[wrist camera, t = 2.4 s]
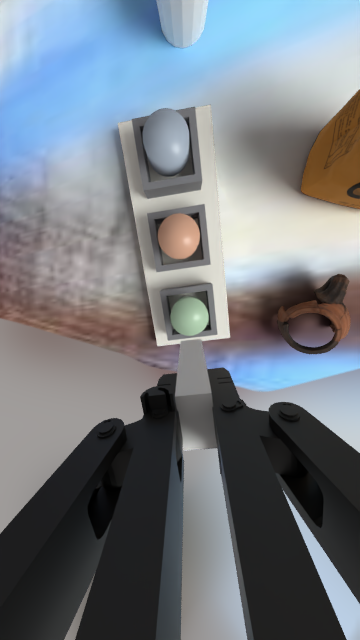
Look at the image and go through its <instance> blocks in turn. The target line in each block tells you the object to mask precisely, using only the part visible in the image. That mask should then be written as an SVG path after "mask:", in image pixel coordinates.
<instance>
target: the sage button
mask: <svg viewBox="0 0 360 640" xmlns="http://www.w3.org/2000/svg"><path fill="white" fill-rule="evenodd" d="M170 319H171V323H172V326H173V327H174V329H175V330H176V331H177V332H179V333H180V334H183V335H187V336H192V335H196V334H198V333H200V332H202V331H203V330H204V329H205V327H206V325H207V323H208V319H209V315H208V311H207V309H206V307H205V305H204V303H203V302H202V301H201V300H200V299H199V298H197V297H195V296H184V297H181V298H180V299H178V300H177V301H176V302H175V304H174V306H173V308H172V311H171V315H170Z"/></svg>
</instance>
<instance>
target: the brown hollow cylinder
mask: <svg viewBox="0 0 360 640" xmlns="http://www.w3.org/2000/svg"><path fill="white" fill-rule="evenodd" d="M348 284H349V280H348V279H347V277H346V276H345V275H341V274H337V275H335V276H332V277H331V278H330V279H329V280H328V281H327V282H326V283H325V284H324V285H323V286H322V287H321V288H319V289H316V290H314V293H316V296H317V298H318V299H319V300H320V301H321V302H324V303H323V304H317V301H316V300H313V301H308V302H303V303H300V304H298V305H295V306H293V307H291V308H289V309H288V310H285V308H284V306H281V308H280V309H279V312H278V316H277V317H278V320H277V323H278V327H279V330H280V333H281V335H282V336H283V337H284V339H285V340H286V342H287V343H288V344H289V345H290V346H291V347H292V348H294V349H296V350H297V351H300V352H303V353H306V354H321V353H325V352H328V351H330V350H331V349H333V348H334V347H335V346H336V345H337V344H338V342H339V341H340V339H343V338H344V337H345V336H346V335H347V333H348V331H349V328H350V315H349V312H348V310H347V308H346V306H345V305H344V304H343V303H342V302H343V299H344V297H345V294H346V290H347V286H348ZM304 313H319V314H321V315H324V316H326V317H327V318H329V319H330V320H331V321H332V323H331V324H330V327H331V328H332V331H333V332H334V333H335V334H334V337H333V339H332V340H331V341H330V342H329V343H327V344H326V345H323V346H320V347H315V348H312V347H305V346H302V345H300V344H298V343H296V342H295V341H294V340H293V339H292V338H291V336H290V335H289V331H288V327H289V324H288V323H287V321H288V320H289V318H292V319H293V318H295V317H297V316H298V315H301V314H304Z"/></svg>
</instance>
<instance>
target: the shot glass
mask: <svg viewBox="0 0 360 640" xmlns="http://www.w3.org/2000/svg"><path fill="white" fill-rule="evenodd" d="M156 1H157V6H158V12H159V17H160V23H161V28H162V32H163V34H164V36H165V38H166V39H167V41H168V42H169V43H171V44H172V45H173V46H174V47H179V48H186V47H189V46H192V45H193V44H194V43H195V42H196V41H197V40H198V39H199V38H200V36H201V34H202V32H203V30H204V25H205V19H206V12H207V5H208V0H156Z"/></svg>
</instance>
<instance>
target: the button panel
mask: <svg viewBox="0 0 360 640" xmlns="http://www.w3.org/2000/svg"><path fill="white" fill-rule="evenodd" d="M176 111H177V112H178V113H179V114H180V115H181V116H182V117H183V118H184V120H185V121H186V123H187V126H188V130H189V157H188V161H187V164H186V166H185V167H184V169H183V170H182V171H181V172H180V173H179V174H177V175H175V176H171V177H166V176H162V175H160V174H158V173H157V172H156V171H155V170H154V169H153V168H152V166H151V164H150V162H149V159H148V156H147V153H146V150H145V148H144V144H143V129H144V125H145V123H146V121H147V119H148V118H149V116H146V117H141V118H136V119H132V120H131V121H126V122H121V123H118V127H119V133H120V138H121V144H122V150H123V155H124V161H125V167H126V172H127V178H128V183H129V189H130V195H131V200H132V206H133V211H134V217H135V223H136V228H137V234H138V240H139V245H140V251H141V256H142V262H143V268H144V273H145V279H146V285H147V290H148V296H149V301H150V307H151V313H152V318H153V324H154V329H155V335H156V341H157V346H164V345H172V344H180V343H181V341H186V340H195V339H201V340H202V341H206V340H214V339H222V338H230V331H229V319H228V307H227V295H226V283H225V271H224V259H223V247H222V235H221V223H220V211H219V198H218V186H217V174H216V162H215V150H214V138H213V126H212V114H211V105H206V106H201V107H196V108H195V107H191V108H186V109H181V110H176ZM177 213H181V214H185V215H188V216H190V217H191V218H192V219H193V220H194V221H195V222H196V224H197V226H198V228H199V232H200V240H199V244H198V246H197V248H196V250H195V252H194V253H193V254H192V255H191V256H190V257H188V258H186V259H182V260H177V259H173V258H171V257H170V256H168V255H167V254H166V253H165V252H164V251H163V250H162V249H161V247H160V245H159V241H158V231H159V227H160V225H161V223H162V222H163V221H164V220H165V219H166V218H167V217H168V216H170V215H173V214H177ZM184 296H195V297H197V298H199V299H200V300H201V301H202V302H203V303H204V305H205V307H206V309H207V311H208V315H209V319H208V323H207V325H206V327H205V329H204V330H203V331H202V332H200V333H198V334H196V335H192V336H187V335H183V334H180V333H179V332H177V331H176V330H175V329H174V327H173V326H172V323H171V319H170V315H171V311H172V308H173V306H174V304H175V302H176V301H177V300H178V299H180V298H181V297H184Z"/></svg>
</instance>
